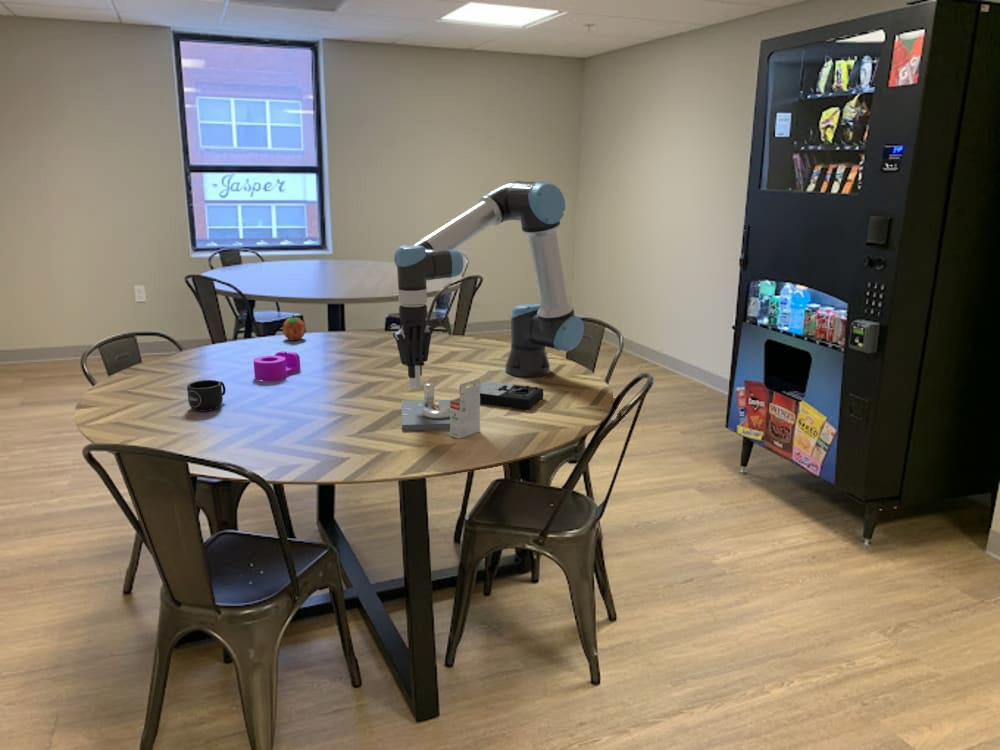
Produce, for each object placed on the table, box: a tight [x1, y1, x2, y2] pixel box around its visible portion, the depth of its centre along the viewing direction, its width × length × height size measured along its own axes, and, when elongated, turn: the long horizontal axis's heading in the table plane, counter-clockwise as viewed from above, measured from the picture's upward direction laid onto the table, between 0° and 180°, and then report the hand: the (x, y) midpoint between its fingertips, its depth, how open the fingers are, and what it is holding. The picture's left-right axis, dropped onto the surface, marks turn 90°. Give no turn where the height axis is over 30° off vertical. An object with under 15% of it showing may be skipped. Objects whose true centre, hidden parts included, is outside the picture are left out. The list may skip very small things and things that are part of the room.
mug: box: [186, 379, 226, 411], centre depth 214 cm, size 12×9×7 cm
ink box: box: [449, 378, 481, 440], centre depth 195 cm, size 4×8×15 cm, turn 140°
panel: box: [400, 399, 452, 432], centre depth 210 cm, size 20×21×2 cm
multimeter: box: [480, 380, 544, 411], centre depth 225 cm, size 13×19×5 cm
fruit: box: [282, 314, 306, 341], centre depth 297 cm, size 9×10×10 cm
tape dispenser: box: [253, 350, 301, 382], centre depth 247 cm, size 16×10×6 cm, turn 163°
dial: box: [422, 382, 450, 420], centre depth 209 cm, size 14×9×6 cm, turn 22°
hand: (415, 388), depth 209 cm, fingers closed
